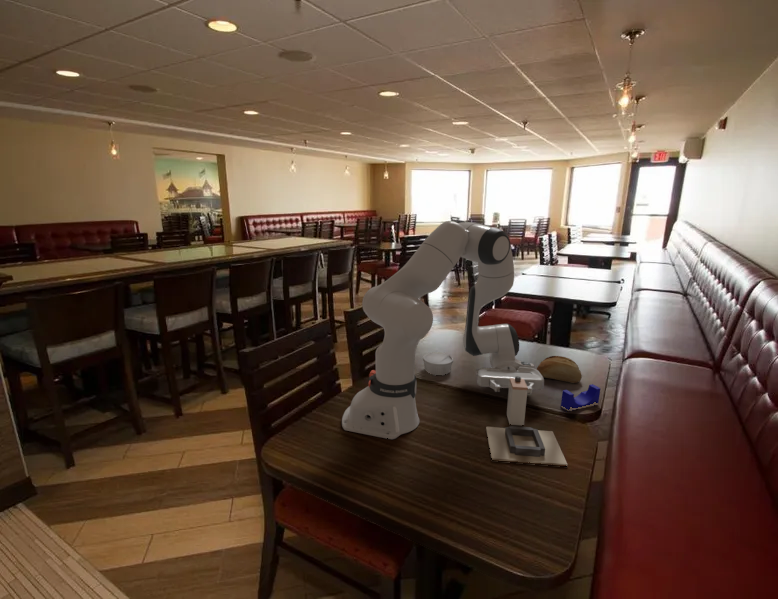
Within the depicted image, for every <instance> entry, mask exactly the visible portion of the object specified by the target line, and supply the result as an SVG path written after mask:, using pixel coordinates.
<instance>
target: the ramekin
mask: <svg viewBox="0 0 778 599" xmlns="http://www.w3.org/2000/svg"><path fill="white" fill-rule="evenodd" d="M422 361H423V367H424V370H425V372H426V371H427V372H428V374H429V373H431V374H435V375H434V376H436V375H442V376H446V375H448V374H449V373H450V372H451V371H452V366H453V363H454V357H453V356H452V355H451V354H448V353H445V352H440V351H439V352H437V351H435V352H434V351H432V352H428V353H427V352H426V353H425V354H424V355H423V356H422ZM427 372H426V373H427ZM431 374H430V375H431ZM445 374H446V375H445Z"/></svg>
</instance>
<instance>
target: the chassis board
mask: <svg viewBox="0 0 778 599" xmlns="http://www.w3.org/2000/svg"><path fill="white" fill-rule="evenodd" d="M485 431H486V436H487V437H488V438H487V442H488V448H490V449H489V453H491V454H490V459H491V458H492V460H499V461H518V462H528V463H529V462H530V463H541V464H551V465H552V464H553V465H566V466H567V467H568V465H569V464H568V463H567V460H566V458H565V456H564V453H563V451H562V450H561V447H560V444H559V443H558V440H557V438H556V436H555V434H554V431H552V430H541V429H540V430H538V429H537V428H533V427H529V426H518V425H509V426H505V427H496V426H495V427H494V426H486V427H485ZM492 460H491V461H492Z"/></svg>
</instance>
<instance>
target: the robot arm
mask: <svg viewBox="0 0 778 599" xmlns="http://www.w3.org/2000/svg"><path fill="white" fill-rule="evenodd" d="M460 258H462V259H466V260H467V261H470V262H473V263H474V262H475V263H477V270H478V277H477V280H476V283H475V284H474V285H472V286H471V287H470V289H469V293H468V298H467V307H466V316H465V317H466V318H465V327H464V333H463V337H462V343H463V348H464V350H465V352H466V353H467V354H469V355H471V356H473V357H477V356H481V355H486V354H489V364H490V367H481V368H479V369H476V370H475V376H477V385H478V386H480V387H481V388H482V387H484V388H486V387H487V388H491V389H492V390H493V391H494V392H495V393H500V392H501V390H500V389H502V388H503V389H509V381H510V378H515V377H517V376H518V377H521V379H524V380H525V383H526V385H527V387H528V389H527V395H528V394H529V395H532V394H533V390H534V391H542V390H543V389H544V386H545V379H544V378H545V377H543V376H542V375H541V373H540V372H539V371H538V370H537V368H535V365H534V363H530V362H525V361H522V360H519V359H517V358H516V356H517V355H518V353H519V351H520V340H519V335H518V333H517V331H516V328H514V326H512V325H511V324H509V323H501V324H493V325H491V324H490V325H483V326H481V325H480V326H479V319H480V312H481V310H482V308H483V307H485V306H486V305H488V304H489V303H491V302H493V301H496V300H497V299H500V298H502V297H503V296H506V295H507V293H509V292H510V291H511V290H512V287H513V286H514V283H515V282H514V281H515V265H514V264H515V263H514V256H513V252H512V247H511V241H510V238H509V236H508V234H507V232H506V231H504V230H502V229H501V228H498V227H493V226H489V225H485V224H481V223H479V222H473V221H471V222H469V221H463V220H457V221H453V220H447V221H444V222H442V223H441V224H439V225H438V226H437V227H436V228H435V229H434V230H433V231H432V232H431V233H430V234H429V235H428V236H427V237H426V238H425V239H424V240H423V242H422V243H421V244H420V246H419V247H418V248H417V249H416V251H415V252H414V253H413V255H412V256H411V257H410V258H409V260H407V262H406V263H405V264H404V265H403V266H402V267H401V268H400V269H399V270H398V271H397V272H395V273H394V274H392V276H390V277H389V278H388V279H386V280H385V281H383V282H382V283H381V284H378V285H375V286H372V287H370V289H368V290H367V291H366V292H365V294H364V296H362V303H361V306H362V310H363V312H364V313H365V315H366V316H367V317H368V319H370V320H371V322H373V323H375V324H376V325H378V326H381V327H382V328H383V331H384V337H383V341H382V343H381V344H380V345H379V346H378V347H377V348H376V350H375V369H372V370H371V371H370V372H369V374H368V386H366V387H365V388H363V389H362V390H359V391H358V392H357V393H356V394H355V395H354V396H353V398H352V400H351V402H350V405H349V406H348V407H347V408H346V409H345V411H344V412H343V414H342V417H341V426H342V429H343V430H344V431H349V432H353V433H358V434H363V435H367V436H373V437H377V438H383V439H387V438H388V439H387V440H395V439H398V437H399V436H401V435H404V434H407V433H410V432H411V431H414V430H415V429H416V428H418V426H419V425H420V417H419V415H418V409H417V404H416V395H417V376H416V374H415V372H416V370H415V369H416V368H415V366H416V354H417V349H418V345H419V342H420V340H421V339H423V338H424V337H425V336H427V334H429V332H430V330H431V328H432V326H433V323H434V315H433V311H432V310H431V308H430V307H429V305H427V304H426V303H425V302H423V301H422V300H421V297H423V296H425V295H428V294H431V293H433V292H436V290H438V289H439V287H441V285H442V284H443V282H445V279H447V277H448V275H449V274H450V273H451V271H452V270H453V268H455V267H456V265H457V263H458V262H459V260H460Z"/></svg>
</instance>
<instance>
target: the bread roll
mask: <svg viewBox="0 0 778 599" xmlns="http://www.w3.org/2000/svg"><path fill="white" fill-rule="evenodd" d="M536 369H537V370H538V371H539V372H540V373H541V375H542V376H543V378H546V379H551V380H556V381H561V382H567V383H570V384H577V383H580V381H581V380H582V377H583V375H582V372H581V369H580V367H579V365H578V364H577V363H576V362H575V361H574V360H573V359H571V358H569V357H566V356H561V355H560V356H559V355H551V356H548V357H546V358H544V359H543V360H541V362H539V364H538V366H537V368H536Z"/></svg>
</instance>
